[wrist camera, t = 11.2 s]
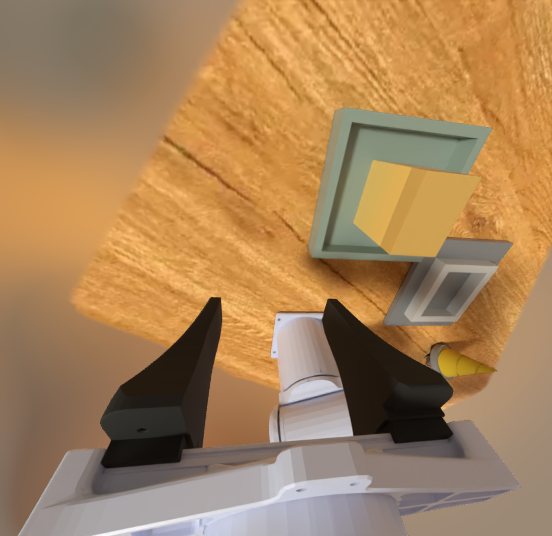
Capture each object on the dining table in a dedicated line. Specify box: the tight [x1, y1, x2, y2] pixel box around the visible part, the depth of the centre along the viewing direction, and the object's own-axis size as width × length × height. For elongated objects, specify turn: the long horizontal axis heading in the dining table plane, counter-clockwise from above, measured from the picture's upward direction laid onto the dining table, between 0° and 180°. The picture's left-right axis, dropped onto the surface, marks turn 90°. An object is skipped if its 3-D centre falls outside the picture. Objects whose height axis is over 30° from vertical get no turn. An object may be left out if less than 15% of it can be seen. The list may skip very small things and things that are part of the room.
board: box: [383, 237, 514, 326], centre depth 28 cm, size 14×11×2 cm
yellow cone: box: [424, 344, 497, 379], centre depth 33 cm, size 5×5×10 cm
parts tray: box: [308, 107, 492, 262], centre depth 20 cm, size 13×13×2 cm
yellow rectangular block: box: [353, 160, 481, 257], centre depth 18 cm, size 6×4×7 cm, turn 174°
